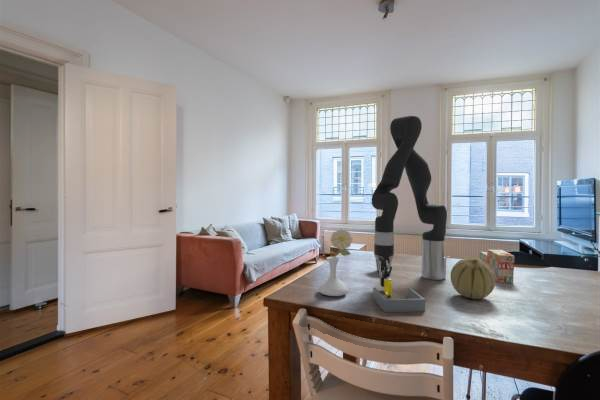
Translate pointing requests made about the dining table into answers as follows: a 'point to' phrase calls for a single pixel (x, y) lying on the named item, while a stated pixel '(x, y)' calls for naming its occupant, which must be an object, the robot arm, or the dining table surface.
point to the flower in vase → (333, 284)
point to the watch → (388, 286)
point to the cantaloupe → (472, 278)
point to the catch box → (400, 302)
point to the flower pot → (389, 259)
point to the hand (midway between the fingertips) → (383, 286)
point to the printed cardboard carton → (499, 264)
